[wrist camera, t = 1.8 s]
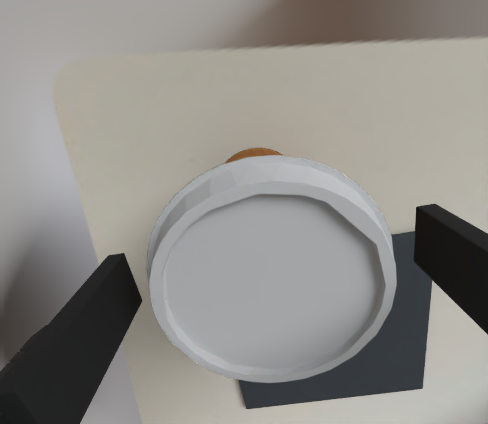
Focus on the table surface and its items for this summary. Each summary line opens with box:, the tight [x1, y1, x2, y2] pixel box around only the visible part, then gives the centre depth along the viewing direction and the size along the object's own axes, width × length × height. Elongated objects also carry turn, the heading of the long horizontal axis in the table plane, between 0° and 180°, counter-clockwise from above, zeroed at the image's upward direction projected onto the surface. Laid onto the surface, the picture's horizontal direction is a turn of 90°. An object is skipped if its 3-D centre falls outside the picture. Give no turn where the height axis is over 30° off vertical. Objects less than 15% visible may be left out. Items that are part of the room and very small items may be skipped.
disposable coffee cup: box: [147, 148, 397, 383], centre depth 15 cm, size 10×10×12 cm
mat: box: [239, 231, 432, 409], centre depth 26 cm, size 18×18×1 cm
